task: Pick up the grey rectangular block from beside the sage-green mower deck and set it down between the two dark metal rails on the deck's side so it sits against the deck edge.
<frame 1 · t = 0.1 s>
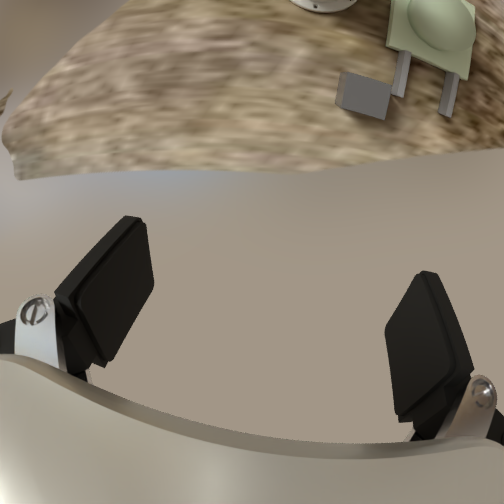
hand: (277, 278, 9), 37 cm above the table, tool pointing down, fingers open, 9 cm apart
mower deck: (430, 36, 25), on the table
grey rectangular block: (357, 93, 34), on the table
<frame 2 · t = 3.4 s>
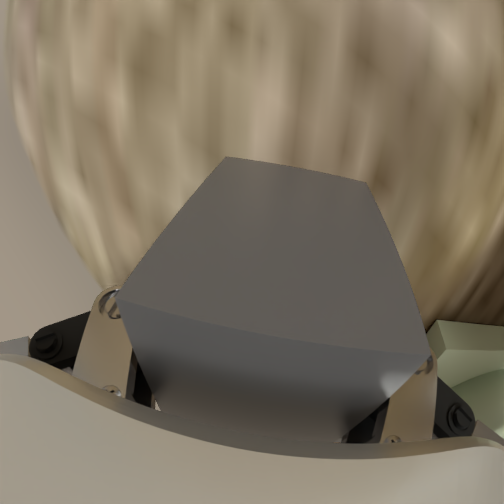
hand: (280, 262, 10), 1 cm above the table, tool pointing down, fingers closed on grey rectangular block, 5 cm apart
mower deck: (436, 385, 16), on the table
grey rectangular block: (283, 239, 11), on the table, touching gripper
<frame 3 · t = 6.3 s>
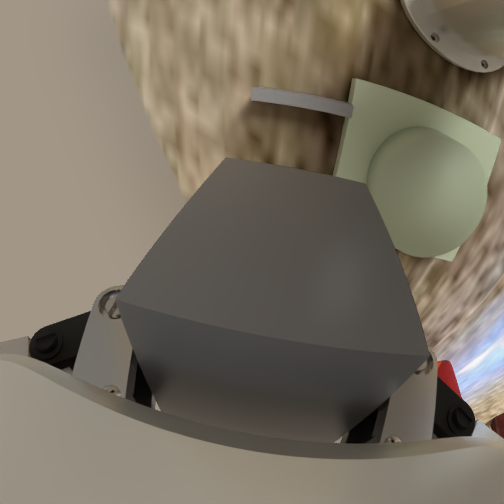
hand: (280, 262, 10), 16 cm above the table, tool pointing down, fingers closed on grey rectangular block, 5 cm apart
paper cup: (436, 368, 38), on the table
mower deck: (389, 167, 22), on the table
grey rectangular block: (283, 240, 11), point 15 cm above the table, touching gripper
when the fingers open (2 cm above the table, at t = 9.1 s): grey rectangular block stays where it is, on the table.
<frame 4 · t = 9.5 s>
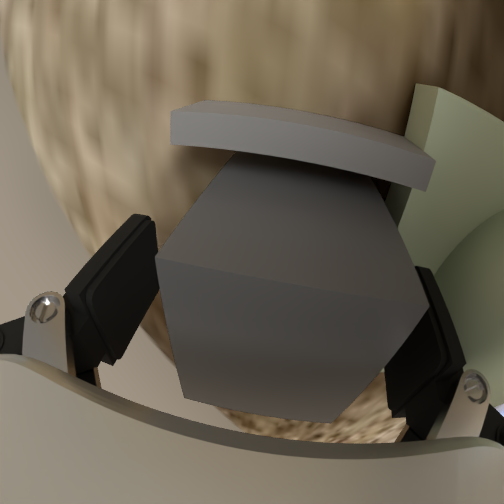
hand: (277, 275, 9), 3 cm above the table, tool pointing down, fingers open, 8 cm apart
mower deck: (456, 261, 11), on the table
grey rectangular block: (291, 225, 12), on the table
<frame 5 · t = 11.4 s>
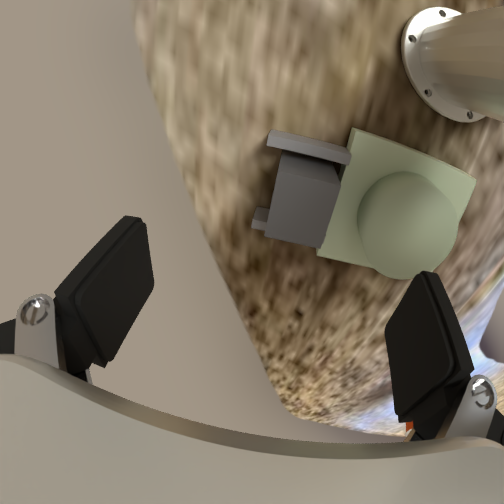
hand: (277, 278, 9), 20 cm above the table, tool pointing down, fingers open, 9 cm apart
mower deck: (376, 202, 28), on the table
grey rectangular block: (300, 182, 28), on the table
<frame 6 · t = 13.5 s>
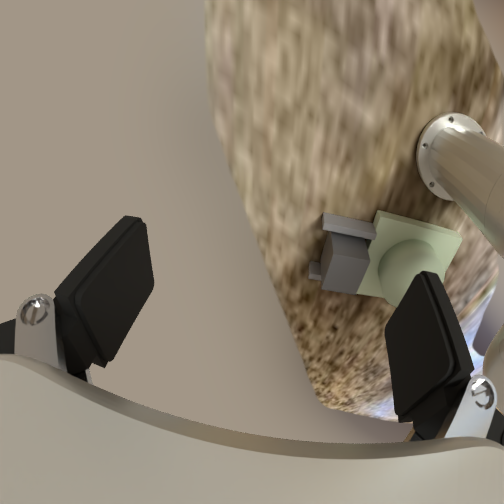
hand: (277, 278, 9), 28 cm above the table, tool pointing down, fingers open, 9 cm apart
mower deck: (391, 256, 40), on the table
grey rectangular block: (341, 245, 41), on the table
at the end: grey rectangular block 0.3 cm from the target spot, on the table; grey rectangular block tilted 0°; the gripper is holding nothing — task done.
